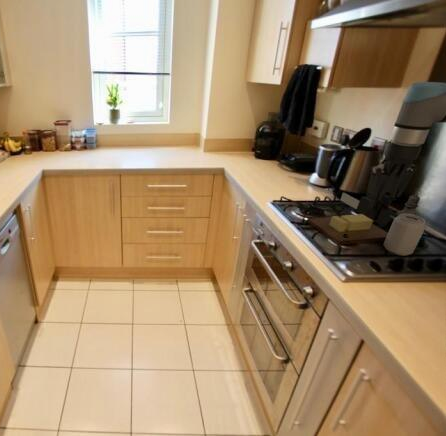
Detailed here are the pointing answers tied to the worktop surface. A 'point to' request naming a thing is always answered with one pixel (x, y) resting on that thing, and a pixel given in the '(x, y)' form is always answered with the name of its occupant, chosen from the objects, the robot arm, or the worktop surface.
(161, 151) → the worktop surface
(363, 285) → the worktop surface
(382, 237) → the board
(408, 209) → the salt shaker
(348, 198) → the knife
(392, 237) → the can
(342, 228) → the butter slice
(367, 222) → the butter
